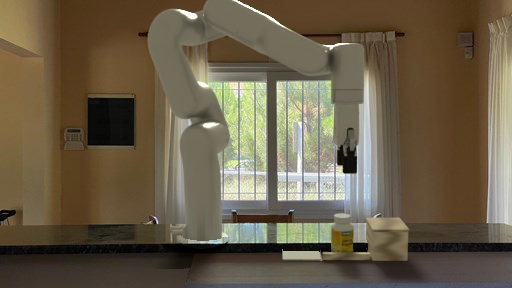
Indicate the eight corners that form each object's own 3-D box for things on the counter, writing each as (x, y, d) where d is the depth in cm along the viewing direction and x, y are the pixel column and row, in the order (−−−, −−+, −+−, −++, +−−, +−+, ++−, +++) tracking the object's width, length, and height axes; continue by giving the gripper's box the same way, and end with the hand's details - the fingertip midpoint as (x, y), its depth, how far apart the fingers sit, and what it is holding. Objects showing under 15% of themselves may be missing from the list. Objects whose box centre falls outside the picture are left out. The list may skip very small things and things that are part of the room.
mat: (282, 260, 114) (282, 259, 114) (282, 246, 123) (282, 245, 123) (321, 260, 114) (321, 259, 114) (318, 246, 122) (318, 245, 122)
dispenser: (319, 261, 113) (319, 229, 112) (315, 246, 123) (315, 217, 122) (408, 261, 112) (409, 229, 111) (398, 246, 122) (399, 217, 121)
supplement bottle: (342, 248, 121) (343, 211, 120) (358, 254, 117) (358, 216, 116) (326, 252, 118) (326, 214, 117) (341, 259, 114) (342, 220, 113)
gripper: (326, 96, 122) (326, 162, 124) (335, 99, 105) (335, 177, 107) (356, 95, 121) (356, 162, 124) (370, 98, 104) (369, 176, 107)
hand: (346, 169), depth 115 cm, fingers open, 9 cm apart
